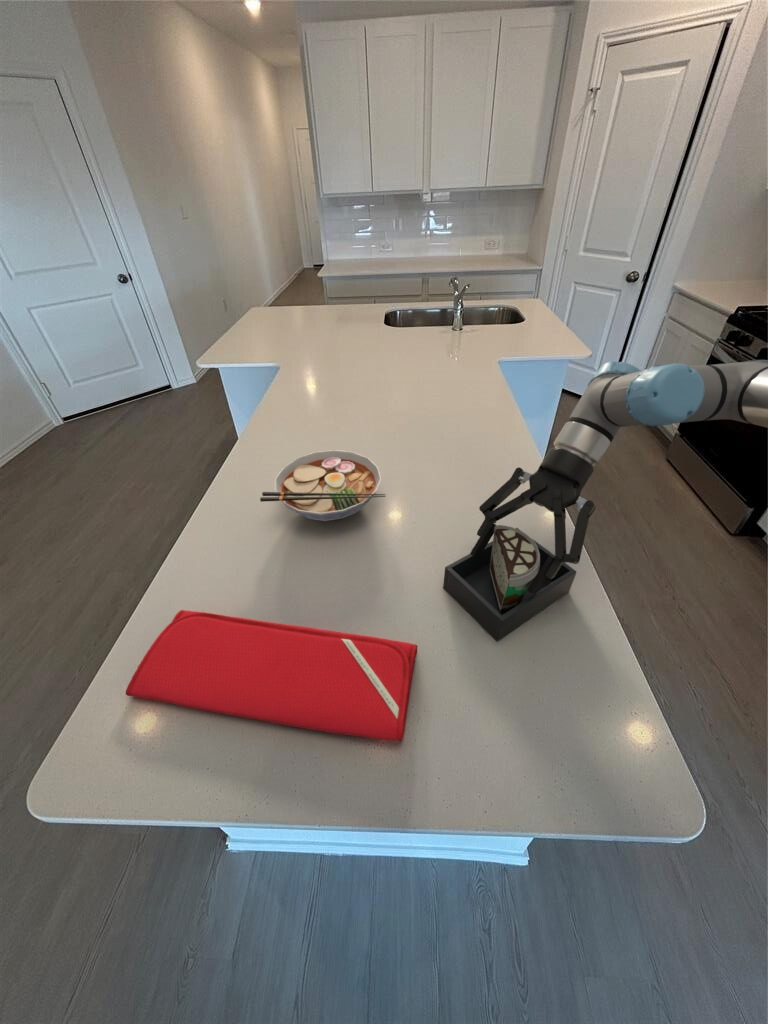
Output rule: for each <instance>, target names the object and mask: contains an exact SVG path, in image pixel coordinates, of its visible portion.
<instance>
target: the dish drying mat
mask: <svg viewBox="0 0 768 1024" xmlns="http://www.w3.org/2000/svg"><path fill="white" fill-rule="evenodd" d="M417 655H418V645H417V644H414V643H410V642H407V641H399V640H394V639H387V638H381V637H376V636H370V635H363V634H362V635H361V634H356V633H348V632H342V631H333V630H327V629H321V628H315V627H309V626H301V625H293V624H285V623H278V622H272V621H271V622H270V621H264V620H257V619H252V618H245V617H238V616H230V615H224V614H217V613H212V612H211V613H210V612H204V611H193V610H184V609H181V610H179V611H178V612H177V613H176V614H175V615H174V617H173V619H172V620H171V622H170V623H169V624H167V626H166V627H165V628H164V629H163V630H162V631H161V632H160V633H159V634H158V636H157V638H156V639H155V640H154V641H153V643H152V644H151V646H150V647H149V649H148V650H147V652H146V653H145V654H144V656H143V658H142V660H141V661H140V663H139V664H138V665H137V668H136V670H135V672H134V674H133V675H132V677H131V679H130V681H129V683H128V685H127V687H126V689H125V696H127V697H134V698H137V699H145V700H150V701H151V700H152V701H158V702H164V703H167V704H172V705H177V706H181V707H185V708H192V709H196V710H201V711H207V712H212V713H217V714H224V715H229V716H235V717H240V718H245V719H251V720H257V721H263V722H269V723H274V724H278V725H282V726H287V727H288V726H289V727H296V728H301V729H306V730H307V729H308V730H313V731H319V732H326V733H333V734H338V735H346V736H355V737H359V738H360V737H361V738H368V739H373V740H383V741H398V742H402V741H403V740H404V735H405V731H406V724H407V723H406V722H407V717H408V710H409V704H410V695H411V688H412V682H413V675H414V669H415V662H416V658H417Z"/></svg>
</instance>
